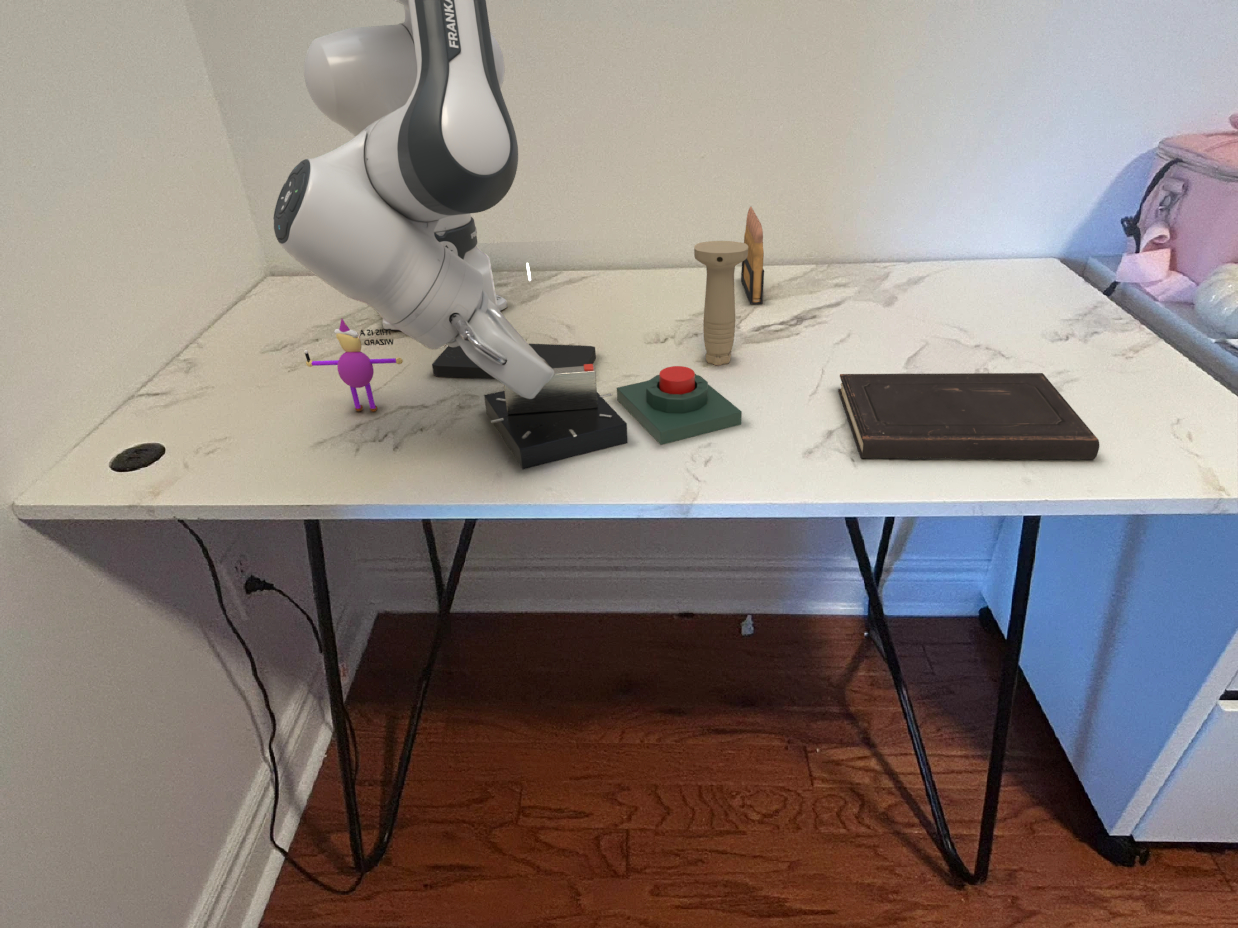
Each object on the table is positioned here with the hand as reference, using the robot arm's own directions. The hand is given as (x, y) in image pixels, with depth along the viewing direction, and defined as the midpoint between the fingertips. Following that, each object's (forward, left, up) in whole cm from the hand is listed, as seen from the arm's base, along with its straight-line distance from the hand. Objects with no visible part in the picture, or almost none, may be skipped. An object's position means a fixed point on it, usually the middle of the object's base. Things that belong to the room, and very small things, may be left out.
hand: (546, 373), depth 86 cm
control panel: (-3, +1, -8) cm, 9 cm away
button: (0, +15, -5) cm, 16 cm away
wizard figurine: (-17, -18, -8) cm, 26 cm away
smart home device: (-21, +2, -8) cm, 23 cm away
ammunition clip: (-30, +43, -8) cm, 53 cm away
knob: (-3, +1, -6) cm, 6 cm away
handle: (-10, +26, -8) cm, 29 cm away
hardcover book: (+17, +41, -8) cm, 45 cm away
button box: (0, +15, -8) cm, 17 cm away
